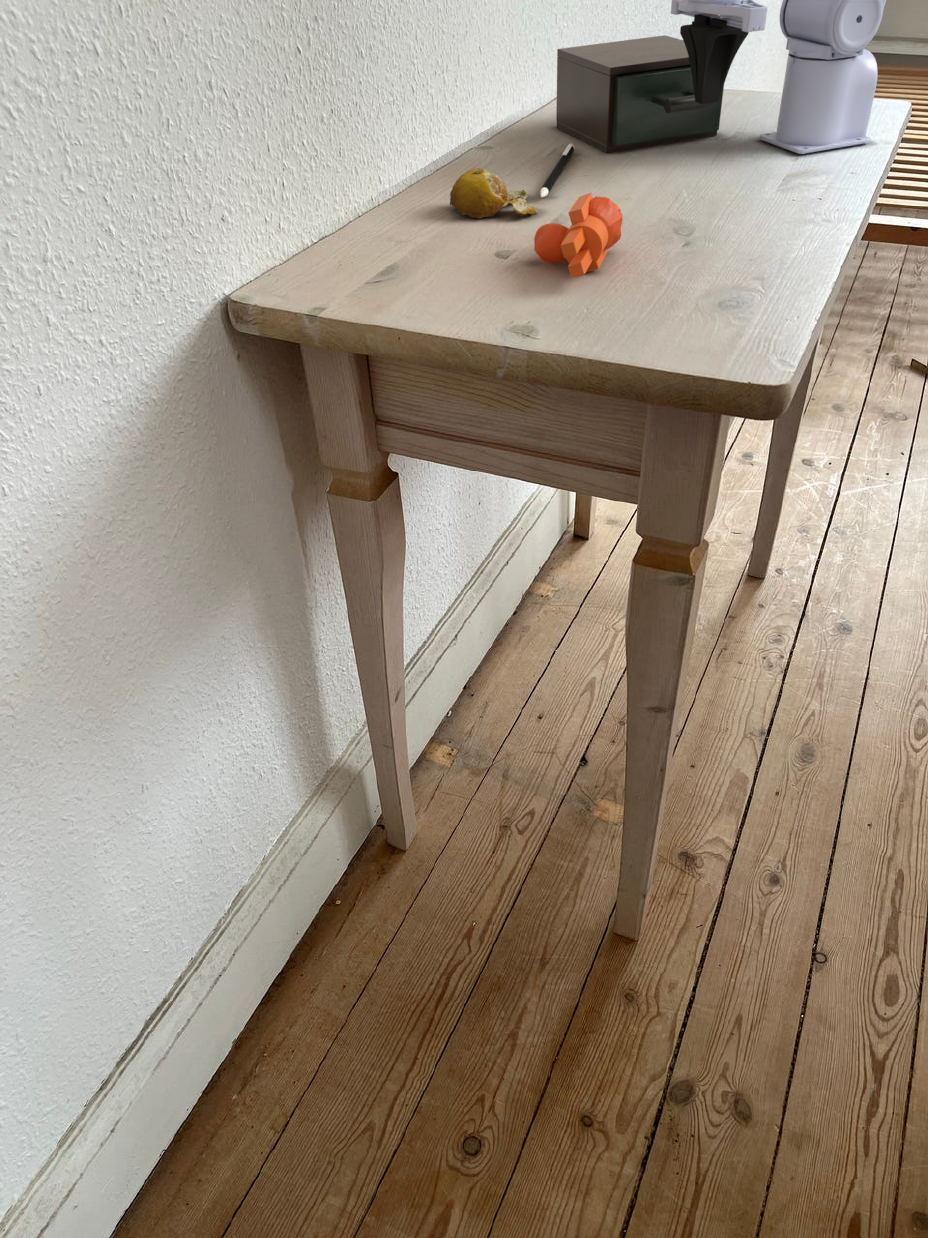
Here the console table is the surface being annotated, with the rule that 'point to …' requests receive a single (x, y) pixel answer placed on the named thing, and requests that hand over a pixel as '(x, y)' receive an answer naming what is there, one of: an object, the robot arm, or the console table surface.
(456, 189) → the fruit
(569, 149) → the pen
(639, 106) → the drawer
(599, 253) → the orange chunky figure
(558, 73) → the cabinet
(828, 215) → the console table surface
